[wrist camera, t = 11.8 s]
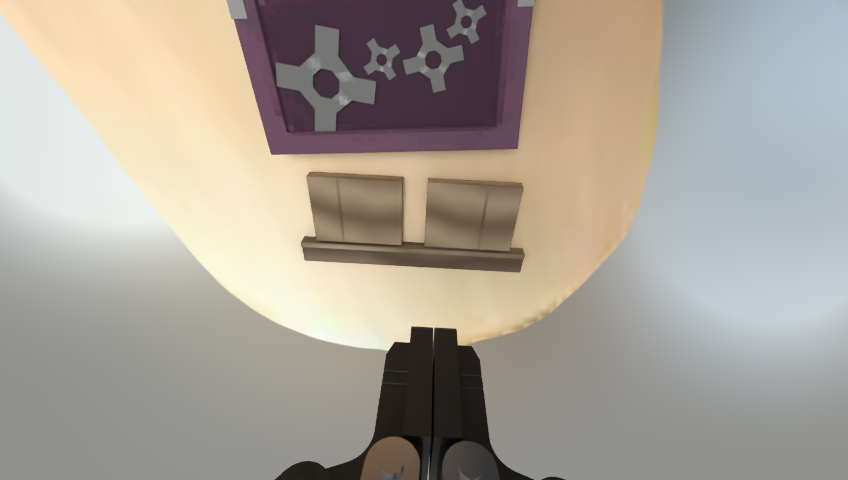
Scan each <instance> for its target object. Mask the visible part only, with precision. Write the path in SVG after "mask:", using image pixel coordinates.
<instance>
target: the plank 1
mask: <svg viewBox="0 0 848 480" xmlns="http://www.w3.org/2000/svg"><path fill="white" fill-rule="evenodd" d="M306 177H307V183H308V189H309V196H310V202H311V208H312V214H313V221H314V227H315V233H316V239H317V240H318V241H336V242H354V243H372V244H389V245H401V244H402V196H403V177H391V176H373V175H355V174H337V173H318V172H309V173H308V175H307V176H306Z"/></svg>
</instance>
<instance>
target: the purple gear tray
mask: <svg viewBox="0 0 848 480" xmlns="http://www.w3.org/2000/svg"><path fill="white" fill-rule="evenodd" d="M227 3H228V7H229V11H230V14H231V18H232V19H234V21H235V25H236V29H237V32H238V36H239V40H240V43H241V47H242V50H243V54H244V58H245V61H246V65H247V69H248V72H249V76H250V79H251V83H252V87H253V90H254V94H255V98H256V101H257V105H258V109H259V112H260V116H261V119H262V123H263V127H264V130H265V134H266V138H267V141H268V145H269V148H270V152H271V155H279V154H321V153H364V152H407V151H449V150H492V149H517V147H518V138H519V128H520V119H521V110H522V101H523V92H524V82H525V73H526V64H527V55H528V46H529V36H530V27H531V18H532V9H533V6H535V0H227Z"/></svg>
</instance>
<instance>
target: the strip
mask: <svg viewBox="0 0 848 480" xmlns="http://www.w3.org/2000/svg"><path fill="white" fill-rule="evenodd" d="M424 245H425V243H414V242H402V244H401V245H389V244H372V243H354V242H336V241H318V240H317V239H316V237H306V236H305V237H304V238H303V240H302V242H301V247H303V253H304V259H305V260H306V261H324V262H342V263H360V264H378V265H396V266H414V267H431V268H449V269H467V270H485V271H503V272H520V270H521V266H522V262H523V259H524V257H525V255H524V252H523V249H521V248H510V250H509V251H497V250H479V249H461V248H444V247H426V246H424Z"/></svg>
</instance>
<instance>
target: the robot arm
mask: <svg viewBox="0 0 848 480" xmlns="http://www.w3.org/2000/svg"><path fill="white" fill-rule="evenodd" d="M429 454H430V460H429ZM429 462H430V463H429ZM428 464H429V480H534V479H531V478H529V477H527V476H524V475H522V474H520V473H517V472H515V471H513V470H511V469H510V468H508V467H507V466H506V465H504V464H503V463H502V462H501V461H500V460H499V458H498V457H497V456H496V454H495V453H494V451H493V449H492V447H491V444H490V439H489V432H488V424H487V416H486V408H485V399H484V391H483V383H482V378H481V367H480V359H479V358H478V356H477V355H476V353H475V351H474V349H473V348H472V346H458V345H457V330H456V329H449V328H435V329H434V340H433V328H429V327H412V328H411V339H410V343H403V342H394V344H393V345H392V347H391V348H390V350H389V351H388V353H387V354H386V360H385V367H384V373H383V380H382V386H381V393H380V399H379V406H378V413H377V420H376V426H375V432H374V436H373V439H372V441H371V443H370V445H369V446H368V448H367V449H366V450H365V451H364V452H363V453H362V454H361V455H360V456H358V457H357V458H355V459H353V460H351V461H349V462H346V463H343V464H340V465H337V466H333V467H330V468H327V469H325V468H324V467H323V466H322V465H320V464H319V463H316V462H311V461H304V462H300V463H297V464H294V465H292V466H291V467H289V468H288V469H286V470H285V471H284V472H283V473H282V474H281V475H280V476H279V477H277V478H276V479H275V480H427V473H428ZM542 480H565V479H562V478H557V477H548V478H545V479H542Z"/></svg>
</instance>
